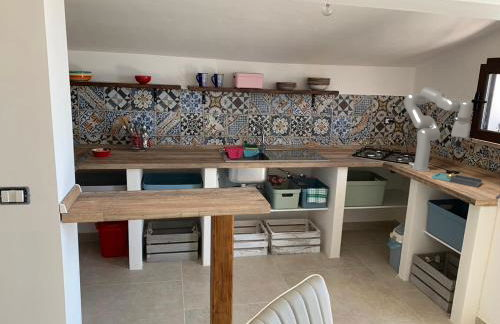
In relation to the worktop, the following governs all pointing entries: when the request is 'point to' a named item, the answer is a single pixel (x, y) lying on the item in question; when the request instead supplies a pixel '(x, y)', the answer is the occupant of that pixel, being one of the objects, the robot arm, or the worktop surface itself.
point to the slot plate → (466, 180)
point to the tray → (441, 177)
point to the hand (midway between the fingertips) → (457, 146)
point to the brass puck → (450, 175)
